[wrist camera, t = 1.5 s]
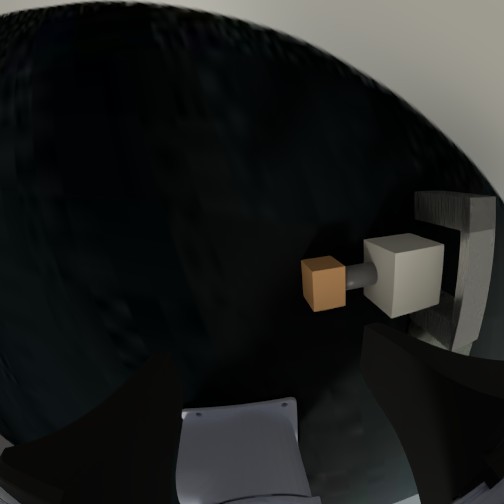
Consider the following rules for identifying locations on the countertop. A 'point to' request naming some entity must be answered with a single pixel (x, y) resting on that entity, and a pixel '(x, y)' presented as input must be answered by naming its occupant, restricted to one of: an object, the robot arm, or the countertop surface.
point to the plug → (380, 275)
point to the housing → (469, 271)
